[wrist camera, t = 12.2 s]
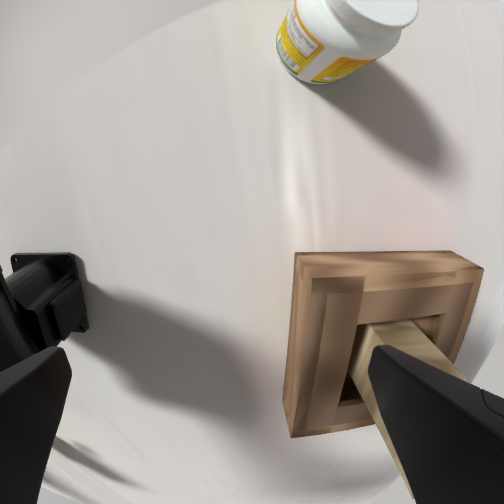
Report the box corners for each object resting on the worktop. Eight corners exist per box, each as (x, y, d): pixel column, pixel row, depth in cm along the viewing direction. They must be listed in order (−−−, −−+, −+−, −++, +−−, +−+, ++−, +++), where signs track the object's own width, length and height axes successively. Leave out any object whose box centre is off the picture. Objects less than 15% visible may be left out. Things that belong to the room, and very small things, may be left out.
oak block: (341, 358, 23) (412, 498, 10) (358, 310, 22) (460, 449, 9) (385, 357, 24) (465, 477, 10) (403, 313, 22) (508, 427, 9)
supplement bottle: (261, 65, 17) (291, -6, 8) (291, 6, 15) (334, -74, 6) (336, 99, 18) (418, 66, 9) (360, 41, 16) (439, -12, 7)
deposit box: (282, 401, 25) (290, 438, 21) (295, 252, 21) (312, 277, 16) (413, 380, 26) (433, 407, 22) (450, 250, 22) (484, 268, 18)
